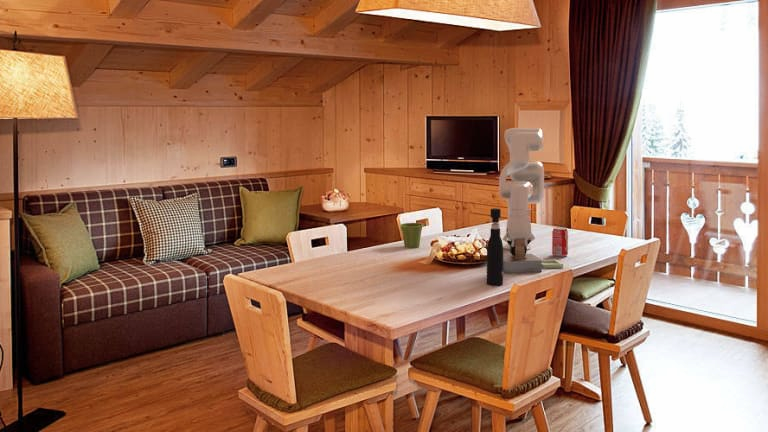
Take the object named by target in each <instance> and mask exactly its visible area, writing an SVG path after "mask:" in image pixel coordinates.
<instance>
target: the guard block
mask: <svg viewBox="0 0 768 432" xmlns="http://www.w3.org/2000/svg"><path fill="white" fill-rule="evenodd" d="M542 260H543V259H540V258H539V257H537V256H536V255H535V254H533V253H526V255H525V256H524V259H513V256H512V255H511V253H510V254H503V272H504V273H503V274H522V273H523V274H528V273H542V271H543V268H542Z"/></svg>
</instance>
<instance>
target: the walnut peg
mask: <svg viewBox="0 0 768 432" xmlns="http://www.w3.org/2000/svg"><path fill="white" fill-rule="evenodd" d="M514 247H515V256H513V259H524V255H525V238H516V239H515V243H514Z"/></svg>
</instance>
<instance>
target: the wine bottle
mask: <svg viewBox="0 0 768 432" xmlns="http://www.w3.org/2000/svg"><path fill="white" fill-rule="evenodd" d="M501 216H502V215H501V208H496V207H495V208H490V218H491V224H490V225H491V228H490V233H489V235H490V236H489V239H488V242H487V247H486V285H487V286H490V287H501V286H503V285H504V273H503V255H504V245H503V241H502V240H503V239H502V236H501V228H500V218H501Z"/></svg>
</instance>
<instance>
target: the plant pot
mask: <svg viewBox="0 0 768 432" xmlns="http://www.w3.org/2000/svg"><path fill="white" fill-rule="evenodd" d="M399 226H400V229H401V233H402V239H403V244H404V245H403V246H404V248H406V249H407V248H410V249H417V248H419V247H420V244H421V238H422V230H423V226H424V224H423V223H420V222H406V223H405V222H404V223H400V224H399Z"/></svg>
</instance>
